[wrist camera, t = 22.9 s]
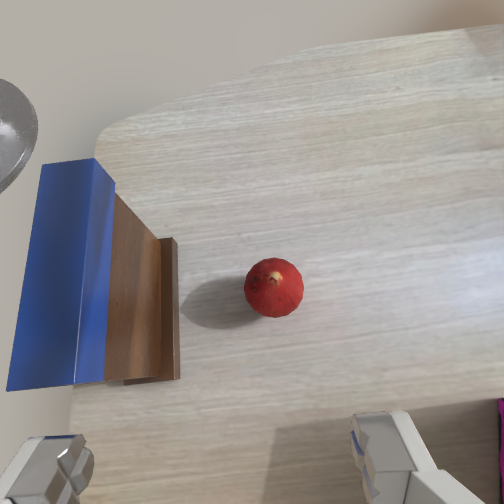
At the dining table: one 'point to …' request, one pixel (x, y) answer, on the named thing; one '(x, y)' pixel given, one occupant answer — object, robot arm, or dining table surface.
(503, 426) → the candy bar box
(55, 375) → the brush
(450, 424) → the dining table surface
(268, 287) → the red pomegranate
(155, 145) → the dining table surface
